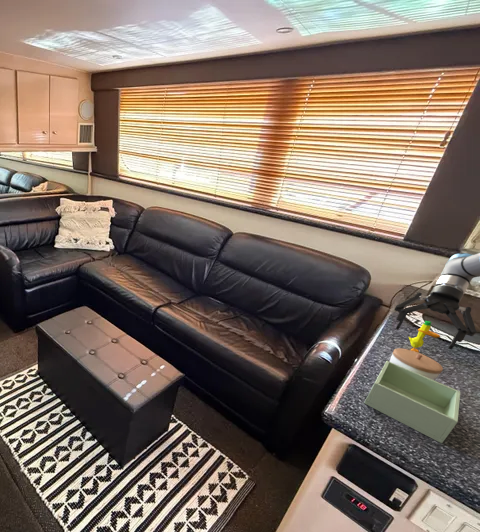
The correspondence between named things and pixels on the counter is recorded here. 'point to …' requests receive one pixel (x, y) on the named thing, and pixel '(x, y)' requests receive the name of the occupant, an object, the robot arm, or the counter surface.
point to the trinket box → (416, 363)
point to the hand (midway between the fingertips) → (423, 337)
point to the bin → (415, 401)
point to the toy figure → (422, 336)
